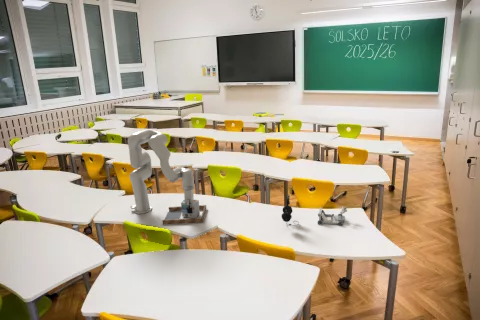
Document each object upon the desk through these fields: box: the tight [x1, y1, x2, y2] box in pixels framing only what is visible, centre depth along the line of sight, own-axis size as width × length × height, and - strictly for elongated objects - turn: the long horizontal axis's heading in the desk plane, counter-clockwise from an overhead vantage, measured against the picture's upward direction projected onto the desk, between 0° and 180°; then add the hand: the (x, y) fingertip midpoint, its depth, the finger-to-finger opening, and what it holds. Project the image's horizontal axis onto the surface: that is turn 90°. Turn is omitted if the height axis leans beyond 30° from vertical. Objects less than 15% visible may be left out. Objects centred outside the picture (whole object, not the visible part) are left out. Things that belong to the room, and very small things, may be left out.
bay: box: [161, 204, 207, 225], centre depth 233 cm, size 28×21×3 cm
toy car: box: [317, 206, 348, 227], centre depth 213 cm, size 18×10×12 cm
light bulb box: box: [180, 199, 201, 218], centre depth 232 cm, size 11×7×11 cm, turn 71°
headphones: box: [281, 194, 301, 228], centre depth 209 cm, size 15×11×20 cm
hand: (190, 210), depth 232 cm, fingers closed on light bulb box, 8 cm apart
